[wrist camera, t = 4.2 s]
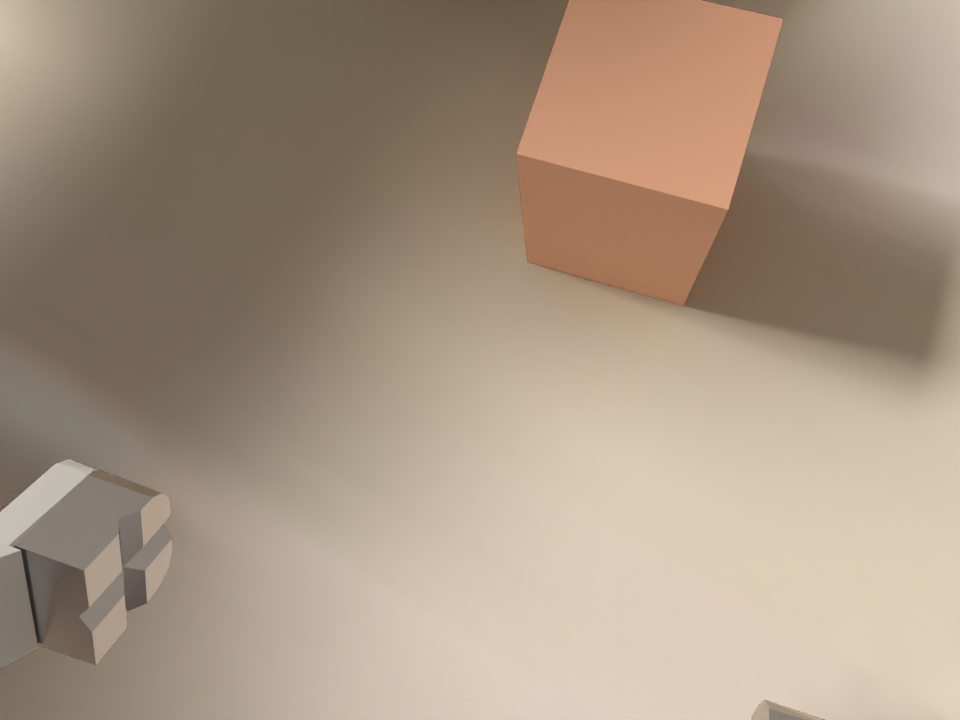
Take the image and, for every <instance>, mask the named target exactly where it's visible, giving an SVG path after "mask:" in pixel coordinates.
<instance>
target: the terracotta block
mask: <svg viewBox="0 0 960 720" xmlns="http://www.w3.org/2000/svg"><path fill="white" fill-rule="evenodd" d="M782 22H783V19H782V18H777V17H773V16H769V15H764V14H760V13H756V12H751V11H747V10H742V9H738V8H734V7H729V6H725V5H721V4H716V3H712V2H708V1H703V0H569V2H568V5H567V8H566V11H565V14H564V17H563V19H562V22H561V25H560V28H559V31H558V34H557V37H556V40H555V43H554V46H553V49H552V51H551V54H550V57H549V60H548V63H547V66H546V69H545V72H544V75H543V78H542V80H541V83H540V86H539V89H538V92H537V95H536V98H535V101H534V104H533V107H532V109H531V112H530V115H529V118H528V121H527V124H526V127H525V130H524V133H523V136H522V138H521V141H520V144H519V147H518V150H517V153H516V156H517V166H518V175H519V185H520V195H521V205H522V215H523V225H524V235H525V244H526V254H527V262H529V263H533V264H537V265H540V266H544V267H547V268H551V269H554V270H558V271H561V272H565V273H568V274H572V275H575V276H579V277H582V278H586V279H589V280H593V281H597V282H600V283H604V284H607V285H611V286H614V287H618V288H621V289H625V290H628V291H632V292H635V293H639V294H642V295H646V296H649V297H653V298H657V299H660V300H664V301H667V302H671V303H674V304H678V305H681V306H683V305H684V303H685V301H686V299H687V297H688V295H689V292H690V290H691V288H692V286H693V284H694V282H695V280H696V278H697V275H698V273H699V271H700V269H701V267H702V265H703V263H704V261H705V258H706V256H707V254H708V252H709V250H710V248H711V246H712V244H713V241H714V239H715V237H716V235H717V233H718V231H719V229H720V227H721V224H722V222H723V220H724V218H725V216H726V214H727V212H728V210H729V206H730V203H731V199H732V196H733V192H734V189H735V185H736V182H737V178H738V175H739V171H740V168H741V165H742V161H743V158H744V154H745V151H746V147H747V144H748V140H749V137H750V133H751V130H752V126H753V123H754V119H755V116H756V113H757V109H758V106H759V102H760V99H761V95H762V92H763V88H764V85H765V81H766V78H767V74H768V71H769V68H770V64H771V61H772V57H773V54H774V50H775V47H776V43H777V40H778V36H779V33H780V29H781V26H782Z"/></svg>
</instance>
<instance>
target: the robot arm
mask: <svg viewBox="0 0 960 720" xmlns="http://www.w3.org/2000/svg"><path fill="white" fill-rule="evenodd" d="M170 516H171V508H170V497H169V496H167V495H165V494H163V493H160V492H157V491H155V490H152V489H149V488H147V487H144V486H141V485H139V484H136V483H133V482H131V481H128V480H125V479H123V478H120V477H117V476H115V475H112V474H109V473H107V472H104V471H102V470H98V469H95V468H92V467H90V466H87V465H84V464H81V463H79V462H76V461H73V460H70V459H67V460H64V461H61V462H58V463H56V464H55V465H53V466H52V467H51V468H50V469H49V470H48V471H47V472H45V473H44V474H43V475H42V476H41V477H40V478H39V479H37V480H36V481H35V482H34V483H33V484H32V485H31V486H29V487H28V488H27V489H26V490H25V491H24V492H23V493H21V494H20V495H19V496H18V497H17V498H16V499H15V500H13V501H12V502H11V503H10V504H9V505H8V506H7V507H5V508H4V509H3V510H2V511H1V512H0V669H1V668H3V667H5V666H7V665H9V664H11V663H13V662H15V661H17V660H18V659H20V658H22V657H24V656H26V655H28V654H30V653H32V652H34V651H36V650H37V649H38V645H39V646H42V647H45V648H48V649H51V650H54V651H56V652H59V653H62V654H65V655H68V656H71V657H74V658H77V659H79V660H82V661H85V662H88V663H91V664H94V665H97V664H98V662H99V661H100V660H101V659H102V657H103V656H104V655H105V654H106V653H107V651H108V650H109V649H110V648H111V646H112V645H113V644H114V643H115V642H116V640H117V639H118V638H119V637H120V636H121V634H122V633H123V632H124V631H125V629H126V628H127V611H129V610H131V609H134V608H136V607H139V606H141V605H143V604H146V603H147V602H148V601H149V600H150V599H151V597H152V596H153V595H154V593H155V592H156V591H157V590H158V588H159V587H160V585H161V583H162V581H163V579H164V577H165V575H166V573H167V571H168V568H169V566H170V561H171V556H172V552H173V550H172V537H171V536H170V534H169V533H168V531H167V530H166V528H165V527H164V526H163V524H164V523H165V521H166V520H167V519H168V518H169V517H170ZM752 720H825V719H821V718H818V717H815V716H812V715H809V714H806V713H803V712H800V711H797V710H794V709H791V708H788V707H785V706H782V705H779V704H776V703H773V702H770V701H767V700H764V701H763V702H761V703H760V704H759V705H758V707H757V708H756V710H755V712H754V714H753V715H752Z"/></svg>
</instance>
